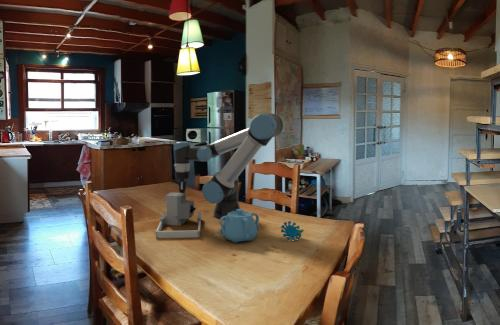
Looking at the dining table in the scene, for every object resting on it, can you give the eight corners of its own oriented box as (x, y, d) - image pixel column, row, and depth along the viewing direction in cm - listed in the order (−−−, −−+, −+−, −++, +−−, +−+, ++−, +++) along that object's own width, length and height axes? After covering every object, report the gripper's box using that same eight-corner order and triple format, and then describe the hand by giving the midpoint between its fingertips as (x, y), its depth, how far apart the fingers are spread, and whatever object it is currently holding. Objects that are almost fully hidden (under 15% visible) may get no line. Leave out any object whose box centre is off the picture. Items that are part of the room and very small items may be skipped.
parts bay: (200, 226, 199) (200, 220, 199) (199, 237, 183) (199, 230, 182) (160, 227, 197) (160, 221, 197) (155, 238, 181) (155, 231, 180)
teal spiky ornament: (283, 239, 175) (280, 219, 182) (278, 245, 180) (275, 226, 186) (306, 240, 179) (302, 221, 185) (301, 246, 183) (297, 227, 189)
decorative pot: (214, 240, 178) (214, 211, 176) (233, 231, 192) (233, 203, 190) (246, 247, 170) (246, 216, 169) (263, 236, 184) (263, 207, 183)
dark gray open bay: (201, 219, 212) (201, 212, 212) (200, 226, 199) (200, 218, 199) (163, 220, 210) (163, 212, 210) (160, 227, 197) (160, 219, 197)
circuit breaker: (192, 226, 199) (192, 196, 197) (165, 224, 202) (164, 195, 200) (197, 222, 207) (197, 193, 205) (171, 220, 209) (170, 192, 207)
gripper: (176, 169, 218) (176, 211, 221) (174, 172, 205) (174, 217, 208) (190, 169, 219) (190, 211, 222) (188, 172, 206) (189, 217, 209)
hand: (182, 214), depth 215 cm, fingers closed
